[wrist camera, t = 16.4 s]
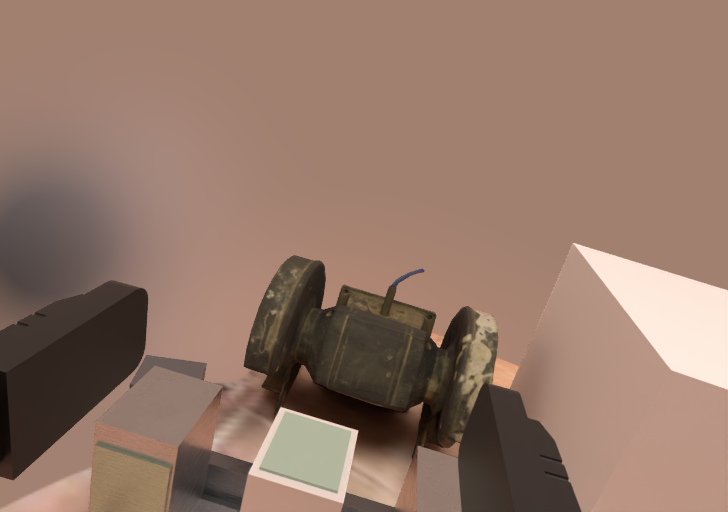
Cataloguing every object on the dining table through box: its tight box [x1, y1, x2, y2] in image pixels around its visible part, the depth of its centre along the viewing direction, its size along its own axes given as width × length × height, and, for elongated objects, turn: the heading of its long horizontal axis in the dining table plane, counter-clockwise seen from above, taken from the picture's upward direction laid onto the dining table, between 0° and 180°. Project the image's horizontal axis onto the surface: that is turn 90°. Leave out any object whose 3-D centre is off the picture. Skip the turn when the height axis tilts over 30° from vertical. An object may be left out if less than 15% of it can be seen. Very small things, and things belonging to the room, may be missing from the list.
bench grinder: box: [244, 255, 498, 459], centre depth 47 cm, size 20×22×20 cm
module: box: [240, 407, 358, 512], centre depth 29 cm, size 6×6×10 cm
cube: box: [510, 243, 728, 512], centre depth 34 cm, size 25×21×24 cm
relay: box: [130, 355, 206, 388], centre depth 38 cm, size 5×4×7 cm
